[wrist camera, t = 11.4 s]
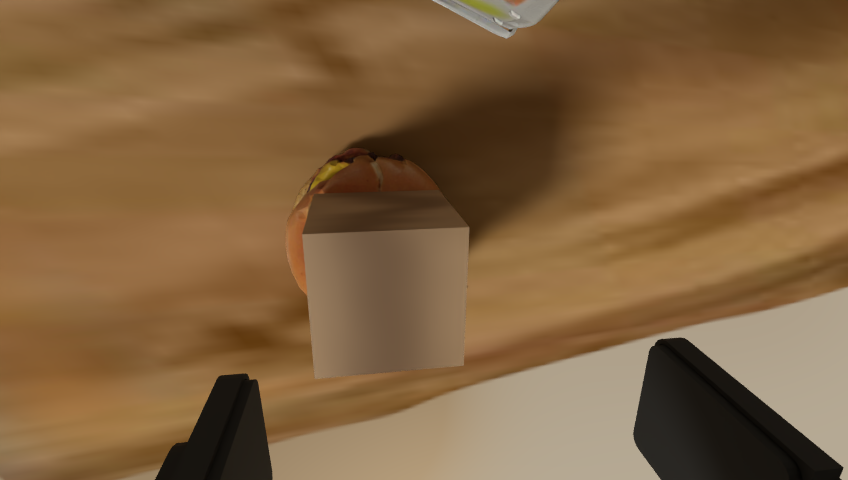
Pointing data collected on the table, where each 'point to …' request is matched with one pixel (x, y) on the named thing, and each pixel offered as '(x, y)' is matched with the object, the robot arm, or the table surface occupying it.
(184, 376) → the table surface
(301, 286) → the burger
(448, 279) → the light brown cube
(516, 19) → the toy car
